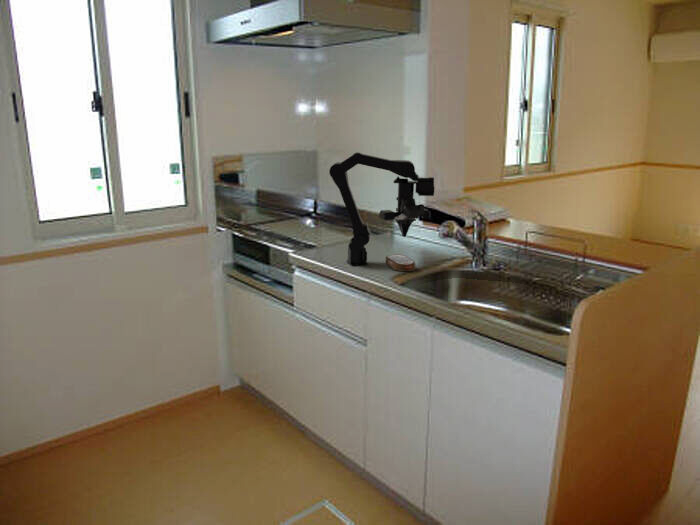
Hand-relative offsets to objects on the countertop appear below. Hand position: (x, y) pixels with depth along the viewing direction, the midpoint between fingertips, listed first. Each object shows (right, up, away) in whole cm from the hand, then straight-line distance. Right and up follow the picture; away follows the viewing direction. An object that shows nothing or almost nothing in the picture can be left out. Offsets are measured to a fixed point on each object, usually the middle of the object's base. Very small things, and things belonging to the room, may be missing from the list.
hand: (404, 236), depth 205 cm
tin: (+3, -9, +1) cm, 9 cm away
